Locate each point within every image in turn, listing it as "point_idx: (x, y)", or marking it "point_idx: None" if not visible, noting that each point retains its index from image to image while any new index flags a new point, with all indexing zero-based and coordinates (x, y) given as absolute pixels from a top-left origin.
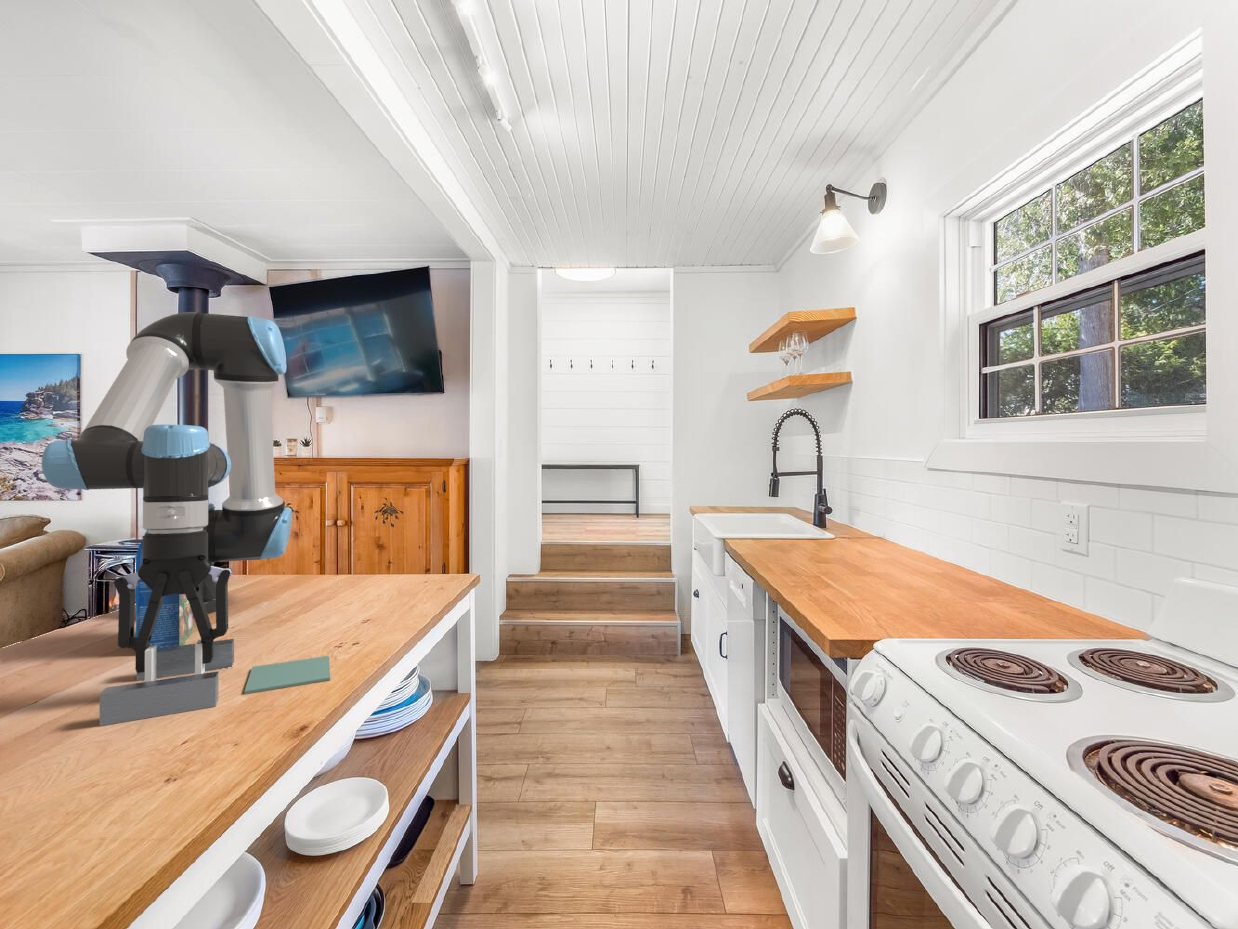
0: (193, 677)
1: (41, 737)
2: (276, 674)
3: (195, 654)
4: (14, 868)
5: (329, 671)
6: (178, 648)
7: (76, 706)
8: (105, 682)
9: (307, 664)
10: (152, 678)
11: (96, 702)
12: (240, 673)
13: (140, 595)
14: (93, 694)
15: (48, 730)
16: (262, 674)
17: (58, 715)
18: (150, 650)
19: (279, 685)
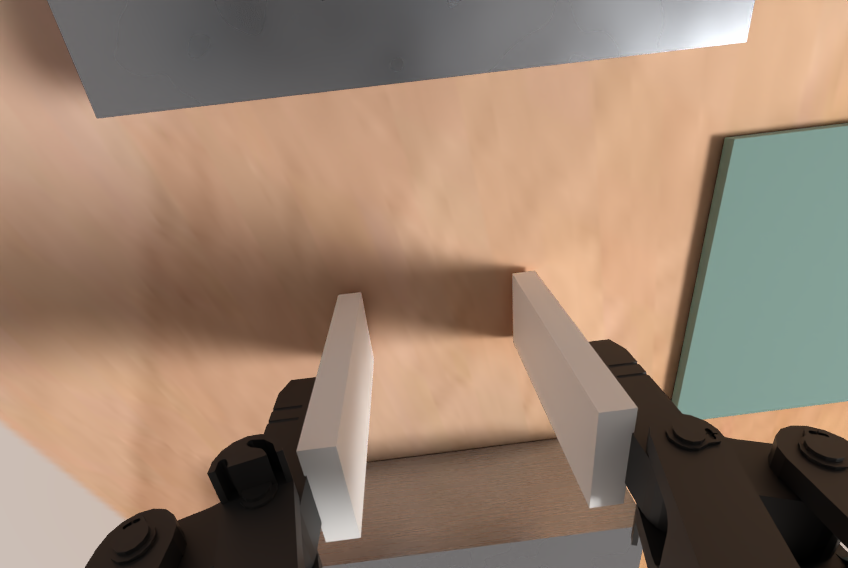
0: (567, 556)
1: None
2: (801, 296)
3: (567, 457)
4: None
5: None
6: (358, 38)
7: (128, 351)
8: (4, 47)
9: None
10: (367, 390)
11: (181, 334)
12: (669, 179)
13: None
14: (92, 235)
15: (191, 498)
16: (754, 275)
17: (128, 410)
18: (354, 537)
19: (780, 408)
